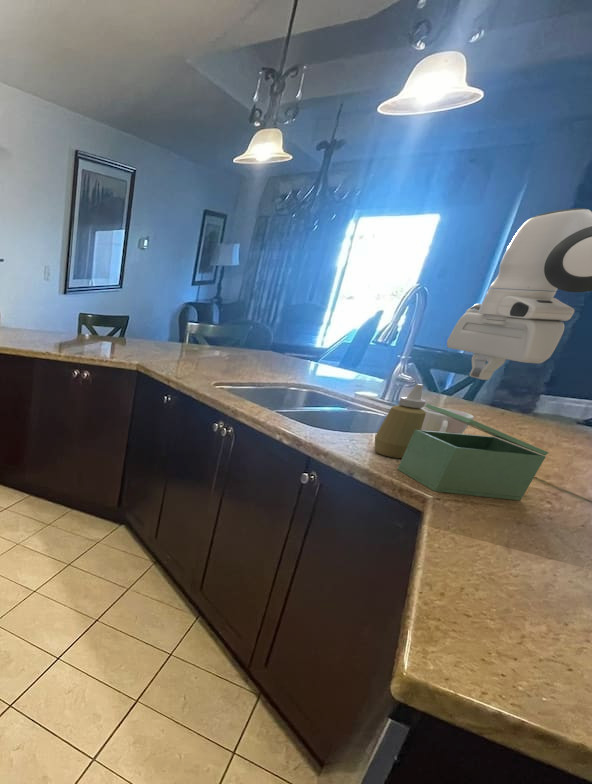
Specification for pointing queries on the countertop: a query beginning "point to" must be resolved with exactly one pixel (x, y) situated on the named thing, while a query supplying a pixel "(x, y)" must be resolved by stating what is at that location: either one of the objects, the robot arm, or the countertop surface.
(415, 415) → the squeeze bottle
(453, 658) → the countertop surface
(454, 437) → the tea tin
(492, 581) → the countertop surface
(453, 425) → the mug
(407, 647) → the countertop surface
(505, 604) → the countertop surface
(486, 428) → the tin lid
